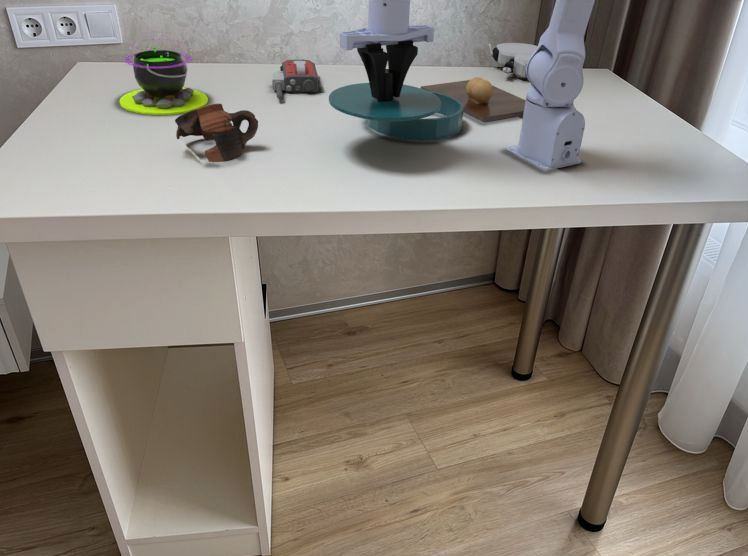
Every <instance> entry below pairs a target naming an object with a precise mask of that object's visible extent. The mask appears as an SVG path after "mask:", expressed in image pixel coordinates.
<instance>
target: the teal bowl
mask: <svg viewBox="0 0 748 556" xmlns="http://www.w3.org/2000/svg"><path fill="white" fill-rule="evenodd" d="M429 92H431V91H429ZM432 93H433V94H435V95H437V96H438V97H439V98H440V99H441V102H442V106H441V109H440V110H439V111H438V112H437V113H436V114H438V115H443V116H440V117H431V118H430V117H425V118H421V119H415V120H409V121H399V122H385V121H374V120H367V119H366V124H367V125H368V126H369V128H370V129H371V130H373V131H375V132H376V133H379V134H382V135H384V136H388V137H390V138H396V139H401V140H409V141H436V140H442V139H447V138H451V137H453V136H455V135H458V133H459V132H461V131H462V128H463V120H464V119H463V117H464V112H463V104H462V103H461V102H460V101H459V100H457V99H455V98H453V97H451V96H448V95H445V94H441V93H437V92H432Z"/></svg>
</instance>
